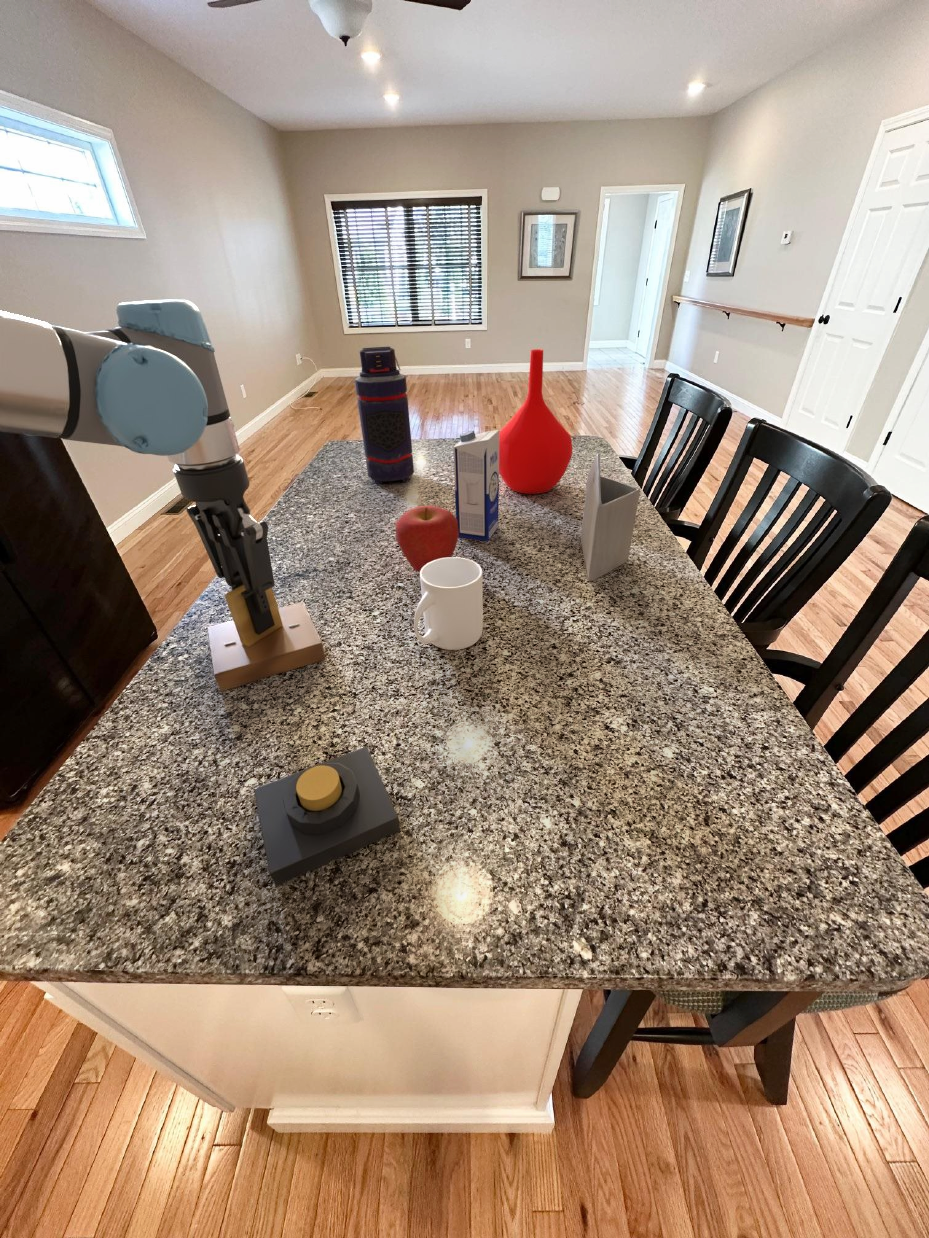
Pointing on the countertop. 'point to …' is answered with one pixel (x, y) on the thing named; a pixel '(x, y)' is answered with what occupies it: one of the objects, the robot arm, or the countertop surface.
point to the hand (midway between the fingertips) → (259, 626)
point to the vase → (534, 441)
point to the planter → (607, 522)
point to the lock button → (319, 788)
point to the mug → (451, 603)
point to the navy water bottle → (384, 416)
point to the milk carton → (477, 484)
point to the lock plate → (264, 649)
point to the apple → (426, 535)
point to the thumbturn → (243, 616)
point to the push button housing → (324, 818)
